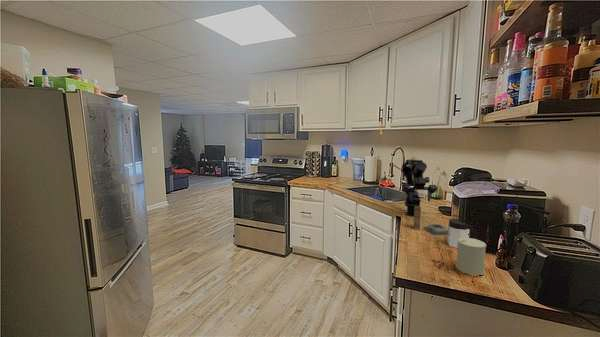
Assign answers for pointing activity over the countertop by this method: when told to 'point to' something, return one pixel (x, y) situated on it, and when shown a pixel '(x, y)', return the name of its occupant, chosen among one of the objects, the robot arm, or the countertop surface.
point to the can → (470, 256)
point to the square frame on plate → (436, 229)
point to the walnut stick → (417, 217)
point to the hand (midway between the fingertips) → (420, 201)
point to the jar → (456, 232)
